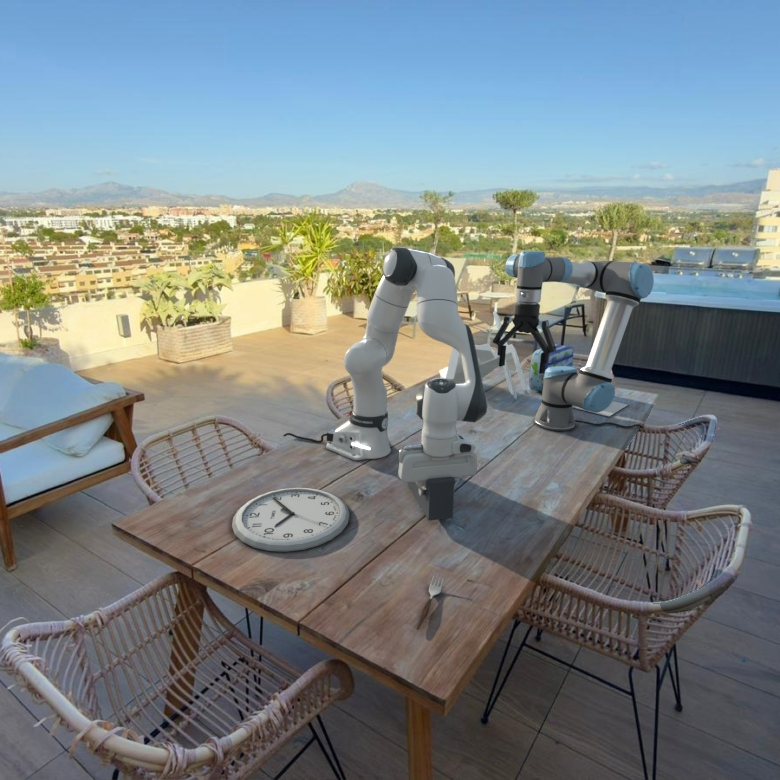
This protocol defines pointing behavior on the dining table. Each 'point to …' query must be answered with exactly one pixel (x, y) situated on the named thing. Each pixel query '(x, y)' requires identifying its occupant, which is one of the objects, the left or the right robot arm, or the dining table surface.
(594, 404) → the right robot arm
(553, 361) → the lunch box
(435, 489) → the box
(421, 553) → the dining table surface
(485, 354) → the white plastic object
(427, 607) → the fork
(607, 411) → the invitation card
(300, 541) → the wall clock
